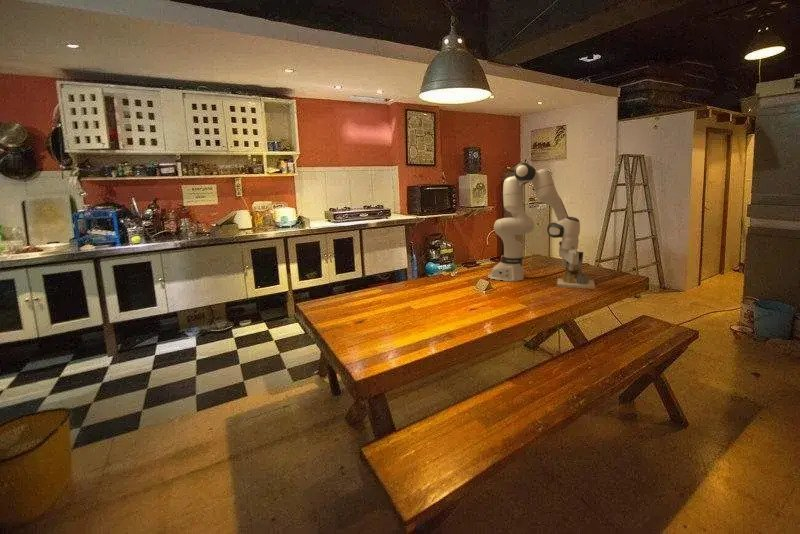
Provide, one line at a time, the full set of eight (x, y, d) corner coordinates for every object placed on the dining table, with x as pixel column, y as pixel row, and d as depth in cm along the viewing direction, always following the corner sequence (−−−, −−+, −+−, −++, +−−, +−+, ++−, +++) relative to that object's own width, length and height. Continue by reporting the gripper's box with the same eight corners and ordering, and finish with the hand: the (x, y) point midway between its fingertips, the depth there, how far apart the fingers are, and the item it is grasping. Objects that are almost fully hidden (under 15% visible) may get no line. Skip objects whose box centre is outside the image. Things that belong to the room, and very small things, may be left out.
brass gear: (567, 283, 232) (567, 276, 230) (560, 281, 238) (560, 273, 237) (576, 282, 233) (577, 275, 232) (569, 279, 239) (569, 272, 238)
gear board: (557, 286, 233) (557, 274, 231) (557, 280, 244) (558, 269, 243) (594, 288, 225) (595, 277, 223) (593, 282, 237) (594, 271, 235)
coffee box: (564, 277, 251) (566, 252, 247) (566, 275, 256) (568, 250, 252) (580, 278, 246) (582, 253, 242) (581, 276, 251) (583, 251, 248)
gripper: (582, 249, 220) (580, 273, 223) (568, 241, 239) (566, 263, 243) (571, 249, 220) (568, 273, 224) (558, 241, 239) (555, 263, 243)
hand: (567, 267), depth 233 cm, fingers open, 8 cm apart
